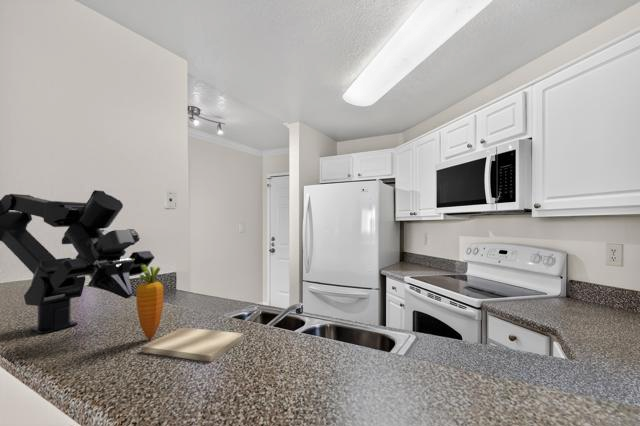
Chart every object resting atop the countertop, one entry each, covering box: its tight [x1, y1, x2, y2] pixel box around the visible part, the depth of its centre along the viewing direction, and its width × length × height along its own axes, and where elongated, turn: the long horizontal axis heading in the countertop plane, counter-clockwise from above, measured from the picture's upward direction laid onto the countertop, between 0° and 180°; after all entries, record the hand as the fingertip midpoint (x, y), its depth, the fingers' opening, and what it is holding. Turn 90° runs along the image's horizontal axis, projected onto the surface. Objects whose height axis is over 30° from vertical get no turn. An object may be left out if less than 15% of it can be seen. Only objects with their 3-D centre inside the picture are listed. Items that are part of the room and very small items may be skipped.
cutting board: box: [141, 326, 245, 363], centre depth 55 cm, size 15×10×1 cm, turn 72°
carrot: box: [135, 265, 164, 341], centre depth 59 cm, size 5×5×15 cm
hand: (129, 296), depth 61 cm, fingers closed
